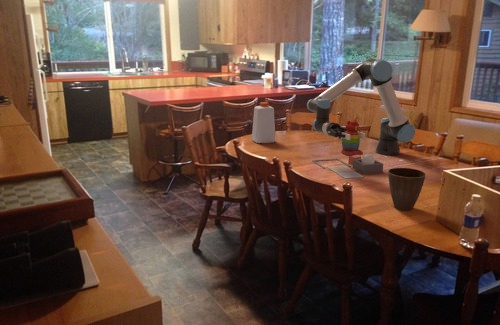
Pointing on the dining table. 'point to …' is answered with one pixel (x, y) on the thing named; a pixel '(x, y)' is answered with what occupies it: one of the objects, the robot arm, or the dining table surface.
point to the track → (341, 169)
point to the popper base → (367, 167)
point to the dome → (368, 159)
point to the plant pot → (405, 187)
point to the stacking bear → (351, 140)
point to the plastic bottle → (263, 124)
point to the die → (353, 159)
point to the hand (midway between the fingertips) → (357, 136)
